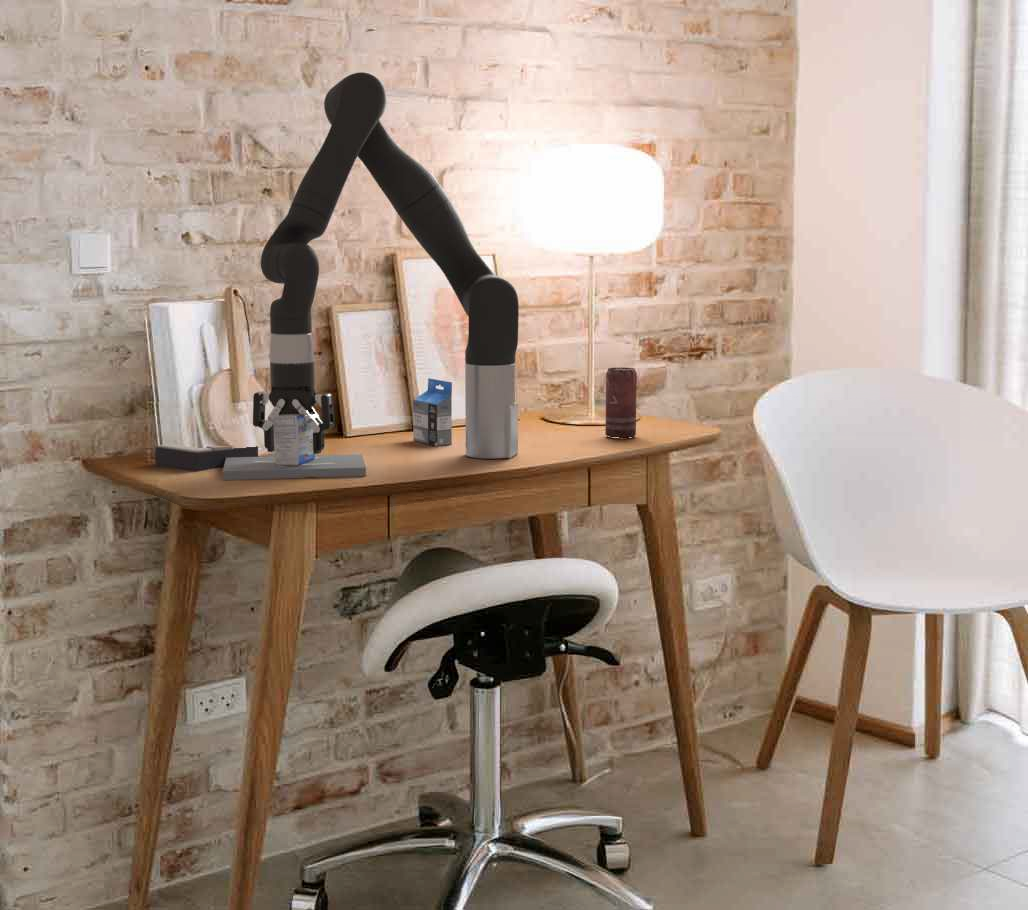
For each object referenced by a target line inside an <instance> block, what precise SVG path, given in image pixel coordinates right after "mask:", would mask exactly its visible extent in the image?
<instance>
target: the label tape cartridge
mask: <svg viewBox="0 0 1028 910" xmlns="http://www.w3.org/2000/svg"><path fill="white" fill-rule="evenodd" d="M439 386H440V387H442V388H443V389H440V388H437V387H439ZM452 390H453V382H451V381H446V380H442V379H441V380H439V379H436V378H429V377H428V379H427V390H426V391H424V392H423V393H422V394H420V395H418V396H417V397H415V398H414V399H412V411H413V412H412V418H413V419H412V420H413V421H412V425H413V427H412V429H413V431H412V433H413V438H412V439H413V441H414V442H419V443H423V444H428V445H432V446H436V447H445V446H451V445H452V444H453V442H452V440H453V439H452V437H453V435H452V433H453V432H452V427H453V426H452V423H453V422H452V421H453V417H452V410H453V409H452V404H453V402H452V399H453V397H452V395H453V391H452Z"/></svg>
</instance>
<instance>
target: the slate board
mask: <svg viewBox="0 0 1028 910" xmlns="http://www.w3.org/2000/svg"><path fill="white" fill-rule="evenodd" d="M366 476H367V466H366V463H365V460H364V458H363V454H361V453H355V454H353V453H352V454H349V453H348V454H326V455H325V454H320V455H319V454H315V458H314V459H313V460H310V461H308V462H306V463H304V464H302V465H300V466H285V465H276V464H275V455H274V456H271V455H270V456H258V457H231V458H226V460H225V464H224V466H223V469H222V481H241V480H243V481H244V480H245V481H247V480H276V479H277V480H278V479H306V478H305V477H318V478H342V477H343V478H351V477H352V478H353V477H366Z"/></svg>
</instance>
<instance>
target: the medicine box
mask: <svg viewBox="0 0 1028 910" xmlns="http://www.w3.org/2000/svg"><path fill="white" fill-rule="evenodd" d="M273 425H274V456H275V464H276V465H285V466H300V465H302V464H304V463H306V462H308V461H310V460H313V459H314V458H315V455H316V454H314V453H313V433H314V430H313V429H312V428H311V426H310V425H309V424H308V423H307V422H306V421H305V420H304V418H303V417H302V416H301V414H281V415H278V416H275V417H273Z"/></svg>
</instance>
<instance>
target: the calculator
mask: <svg viewBox="0 0 1028 910" xmlns="http://www.w3.org/2000/svg"><path fill="white" fill-rule="evenodd" d="M176 444H177V443H166V444H159V445H158V446H156V447H155V466H156V467H163V468H168V469H169V468H170V469H175V470H181V471H187V472H194V473H197V472H201V471H202V472H203V471H207V470H208V469H209V470H213V468H214V469H215V468H220V467H224V464H225V460H226V458H231V457H259V446H258V445H255V446H256V447H246V448H234V449H232V446H231V447H230V446H220V445H218V446H207V447H206V448H196V447H186V446H181V445H176ZM209 470H208V471H209Z"/></svg>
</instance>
